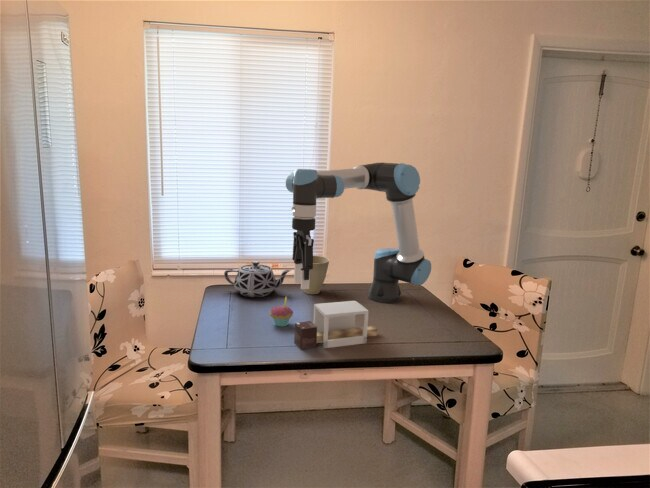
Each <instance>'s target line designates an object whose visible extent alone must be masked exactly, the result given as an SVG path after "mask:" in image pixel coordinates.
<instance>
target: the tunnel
mask: <svg viewBox="0 0 650 488" xmlns="http://www.w3.org/2000/svg"><path fill="white" fill-rule="evenodd" d="M357 315H363V323H362V324H363V325H362V327H363V336H356V337H347V338H339V339H330V340H328V331H334V330H342V329H351V328H356V327H355V326H356V316H357ZM312 323H313V324H314V325H315V326H317V332H324V335H323V343H322V348H323V349H331V348H337V347H345V346H355V345H361V344H363V345H364V344H367V343H368V342H367V341H368V339H367V338H368V337H367V328H368V326H369V325H368V323H369V310H368V309H367V308H366V307H365V306H363V305H362V304H361V303H360V302H358V301H356V300H346V301H334V302H324V303H314V304H313V322H312Z"/></svg>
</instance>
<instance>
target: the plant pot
mask: <svg viewBox="0 0 650 488" xmlns="http://www.w3.org/2000/svg"><path fill="white" fill-rule="evenodd" d="M329 263H330V259H329V258H328V257H326V256H320V255H313V269H311V270H310V283H309V289H302V291H303V292H304V294H307V295H317V294H320V292H321V290H322V288H323V285H324V282H325V279H326V276H327V272H328V267H329ZM300 264H302V263H300Z"/></svg>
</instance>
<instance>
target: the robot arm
mask: <svg viewBox="0 0 650 488" xmlns="http://www.w3.org/2000/svg"><path fill="white" fill-rule="evenodd" d="M420 185H421V177H420V174H419V171H418V169H417V168H416V167H415V166H414V165H412V164H406V163H404V162H403V163H393V162H374V163H369V164H368V163H367V164H366V163H365V164H360V165H356V166H354V167H353V168H344V169H343V168H342V169H332V170H330V169H329V170H317V169H311V168H297V169H295V170H294V171H293V172H290V173H289V174H288V175H287V176H286V177H285V188H286V190H287V191H288V192H289V193H292V196H293V197H292V206H291V207H290V208H291V209H290V210H292V216H293V217H292V219H291V221H292V223H291V228H292V229H293V230H295V231H294V232H293V233H292V235H293V242H292V243H293V245H292V261H293V263H294V268H293V269H294V271H293V272H294V273H293V283H294V284H300V290H303V289H309V283H310V270H311V269H313V256H314V243H315V242H314V241H315V240H314V238H312V236H311V233H310V232H311V231H315V229H316V218H315V217H316V215H317V199H326V198H327V199H328V198H330V199H334V198H339V197H340V196H342V195H343V193H344V192H345V190H346V189H353V188H355V189H357V190H371V191H377V192H382V193H385V198H386V201H388V202H389V203H390V204H391V209H392V216H393V222H394V227H395V233H396V240H397V245H398V248H396V247H395V248H393V247H392V248H389V247H388V248H387V247H386V248H380V249H377V250H376V251H375V252H374V258H373V273H372V274H373V276H372V277H373V279H372V282H371V284H370V287H369V290H368V295H367V297H368V299H370V300H371V301H374V302H378V303H386V304H393V303H398V302H401V300H402V291H401V288H400V284H399V281H400V282H401V281H402V282H405V283H409V284H411V285H416V286H422V285H424V284H425V283H426V281H427V280H428V278H429V277H430V274H431V272H432V262H431V260H429V259H428V258H426V257H425V252H424V251H423V250H422V249H420V243H419V235H418V228H417V222H416V215H415V208H414V201H413V200H414V198H415V197H416V196H417V195H416V194H417V192H418V191H419V189H420ZM300 263H302V264H300Z"/></svg>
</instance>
